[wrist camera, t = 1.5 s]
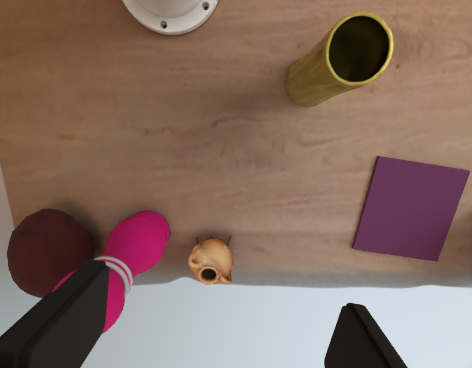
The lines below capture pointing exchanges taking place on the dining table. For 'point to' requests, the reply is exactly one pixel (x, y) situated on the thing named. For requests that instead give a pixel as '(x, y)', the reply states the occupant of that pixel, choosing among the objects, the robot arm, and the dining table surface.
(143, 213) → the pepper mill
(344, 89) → the vase
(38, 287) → the dark brown egg
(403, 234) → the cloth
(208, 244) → the pot
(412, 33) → the dining table surface
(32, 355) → the robot arm
